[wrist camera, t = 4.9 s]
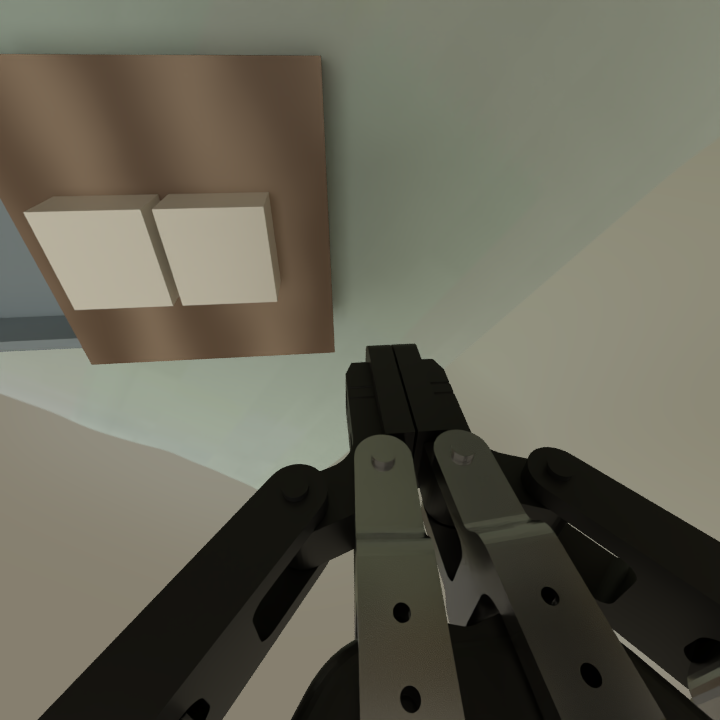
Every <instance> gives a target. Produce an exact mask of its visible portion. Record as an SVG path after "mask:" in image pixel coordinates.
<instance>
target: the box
mask: <svg viewBox="0 0 720 720" xmlns="http://www.w3.org/2000/svg"><path fill="white" fill-rule="evenodd" d="M68 348H82V346H81V344H80V342H79V340H78V339H77V337H76V335H75V333H74V331H73V330H72V328H71V326H70V324H69V322H68V320H67V319H66V317H65V315H64V313H63V311H62V310H61V308H60V306H59V304H58V302H57V300H56V299H55V297H54V295H53V293H52V291H51V290H50V288H49V286H48V284H47V282H46V281H45V279H44V277H43V275H42V273H41V271H40V270H39V268H38V266H37V264H36V262H35V261H34V259H33V257H32V255H31V253H30V252H29V250H28V248H27V246H26V244H25V242H24V241H23V239H22V237H21V235H20V233H19V232H18V230H17V228H16V226H15V224H14V222H13V221H12V219H11V217H10V215H9V213H8V212H7V210H6V208H5V206H4V204H3V203H2V201H1V199H0V352H5V351H26V350H47V349H68Z"/></svg>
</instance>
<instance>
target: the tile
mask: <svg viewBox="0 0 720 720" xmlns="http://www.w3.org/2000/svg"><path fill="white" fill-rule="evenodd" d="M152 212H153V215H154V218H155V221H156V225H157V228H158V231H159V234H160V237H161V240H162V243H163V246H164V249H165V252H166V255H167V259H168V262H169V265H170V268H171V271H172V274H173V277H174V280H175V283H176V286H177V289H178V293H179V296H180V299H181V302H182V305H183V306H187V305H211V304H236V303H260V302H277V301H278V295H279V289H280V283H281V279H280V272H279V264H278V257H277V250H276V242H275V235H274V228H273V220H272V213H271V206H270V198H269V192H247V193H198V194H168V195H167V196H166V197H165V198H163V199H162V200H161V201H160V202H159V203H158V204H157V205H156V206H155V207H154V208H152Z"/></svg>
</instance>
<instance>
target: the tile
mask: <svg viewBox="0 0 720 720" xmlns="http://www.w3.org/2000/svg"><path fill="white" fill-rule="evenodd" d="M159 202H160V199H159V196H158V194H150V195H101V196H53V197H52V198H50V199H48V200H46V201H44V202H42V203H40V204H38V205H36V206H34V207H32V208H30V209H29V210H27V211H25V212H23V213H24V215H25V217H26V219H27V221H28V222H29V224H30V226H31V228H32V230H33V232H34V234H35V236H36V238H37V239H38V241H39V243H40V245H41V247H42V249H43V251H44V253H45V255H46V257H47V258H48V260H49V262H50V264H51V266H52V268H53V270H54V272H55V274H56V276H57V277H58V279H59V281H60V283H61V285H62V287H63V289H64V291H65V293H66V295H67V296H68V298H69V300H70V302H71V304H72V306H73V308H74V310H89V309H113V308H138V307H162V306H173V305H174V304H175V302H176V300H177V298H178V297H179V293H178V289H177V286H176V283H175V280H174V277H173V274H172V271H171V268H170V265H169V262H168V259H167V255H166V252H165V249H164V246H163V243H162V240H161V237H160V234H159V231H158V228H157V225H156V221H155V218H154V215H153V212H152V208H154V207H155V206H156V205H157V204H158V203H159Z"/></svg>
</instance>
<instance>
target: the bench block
mask: <svg viewBox="0 0 720 720" xmlns="http://www.w3.org/2000/svg"><path fill="white" fill-rule="evenodd" d="M247 192H269V198H270V206H271V213H272V220H273V228H274V235H275V242H276V250H277V257H278V264H279V272H280V279H281V283H280V289H279V295H278V301H277V302H260V303H236V304H211V305H187V306H183V305H182V302H181V299H180V296H179V297H178V298H177V300H176V302H175V304H174V305H173V306H162V307H138V308H113V309H89V310H74V308H73V306H72V304H71V302H70V300H69V298H68V296H67V295H66V293H65V291H64V289H63V287H62V285H61V283H60V281H59V279H58V277H57V276H56V274H55V272H54V270H53V268H52V266H51V264H50V262H49V260H48V258H47V257H46V255H45V253H44V251H43V249H42V247H41V245H40V243H39V241H38V239H37V238H36V236H35V234H34V232H33V230H32V228H31V226H30V224H29V222H28V221H27V219H26V217H25V215H24V213H23V212H25V211H27V210H29V209H30V208H32V207H34V206H36V205H38V204H40V203H42V202H44V201H46V200H48V199H50V198H52V197H53V196H101V195H150V194H158V196H159V199H160V201H161V200H162V199H163V198H165V197H166V196H167V195H168V194H198V193H247ZM0 199H1V201H2V203H3V204H4V206H5V208H6V210H7V212H8V213H9V215H10V217H11V219H12V221H13V222H14V224H15V226H16V228H17V230H18V232H19V233H20V235H21V237H22V239H23V241H24V242H25V244H26V246H27V248H28V250H29V252H30V253H31V255H32V257H33V259H34V261H35V262H36V264H37V266H38V268H39V270H40V271H41V273H42V275H43V277H44V279H45V281H46V282H47V284H48V286H49V288H50V290H51V291H52V293H53V295H54V297H55V299H56V300H57V302H58V304H59V306H60V308H61V310H62V311H63V313H64V315H65V317H66V319H67V320H68V322H69V324H70V326H71V328H72V330H73V331H74V333H75V335H76V337H77V339H78V340H79V342H80V344H81V346H82V348H83V349H84V351H85V353H86V355H87V357H88V359H89V360H90V362H91V364H92V365H94V364H113V363H133V362H153V361H172V360H192V359H212V358H231V357H251V356H271V355H291V354H310V353H330V352H335V348H334V326H333V305H332V284H331V263H330V241H329V220H328V199H327V178H326V156H325V135H324V114H323V93H322V71H321V56H282V55H70V54H0Z"/></svg>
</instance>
